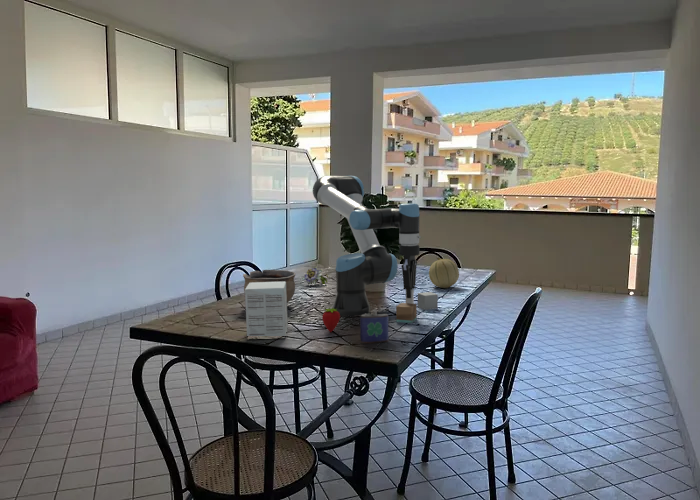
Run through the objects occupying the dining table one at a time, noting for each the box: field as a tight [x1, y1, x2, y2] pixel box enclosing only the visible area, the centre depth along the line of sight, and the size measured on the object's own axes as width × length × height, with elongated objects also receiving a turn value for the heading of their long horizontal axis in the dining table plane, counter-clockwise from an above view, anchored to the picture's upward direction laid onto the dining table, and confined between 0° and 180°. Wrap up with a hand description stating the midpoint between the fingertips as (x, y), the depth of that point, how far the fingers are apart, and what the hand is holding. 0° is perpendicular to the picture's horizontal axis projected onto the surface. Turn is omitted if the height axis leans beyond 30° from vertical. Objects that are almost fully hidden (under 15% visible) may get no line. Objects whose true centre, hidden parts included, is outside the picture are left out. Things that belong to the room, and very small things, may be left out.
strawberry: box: [321, 303, 341, 333], centre depth 177 cm, size 6×8×10 cm
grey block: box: [417, 291, 439, 311], centre depth 212 cm, size 6×6×6 cm
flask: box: [359, 309, 390, 344], centre depth 165 cm, size 9×3×11 cm, turn 95°
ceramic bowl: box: [242, 269, 296, 304], centre depth 217 cm, size 22×22×15 cm
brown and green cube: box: [395, 302, 418, 324], centre depth 191 cm, size 6×6×6 cm
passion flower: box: [301, 266, 329, 285], centre depth 269 cm, size 11×11×12 cm
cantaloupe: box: [428, 257, 460, 289], centre depth 253 cm, size 15×15×15 cm
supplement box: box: [244, 281, 289, 337], centre depth 176 cm, size 13×13×18 cm
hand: (409, 305), depth 195 cm, fingers closed
